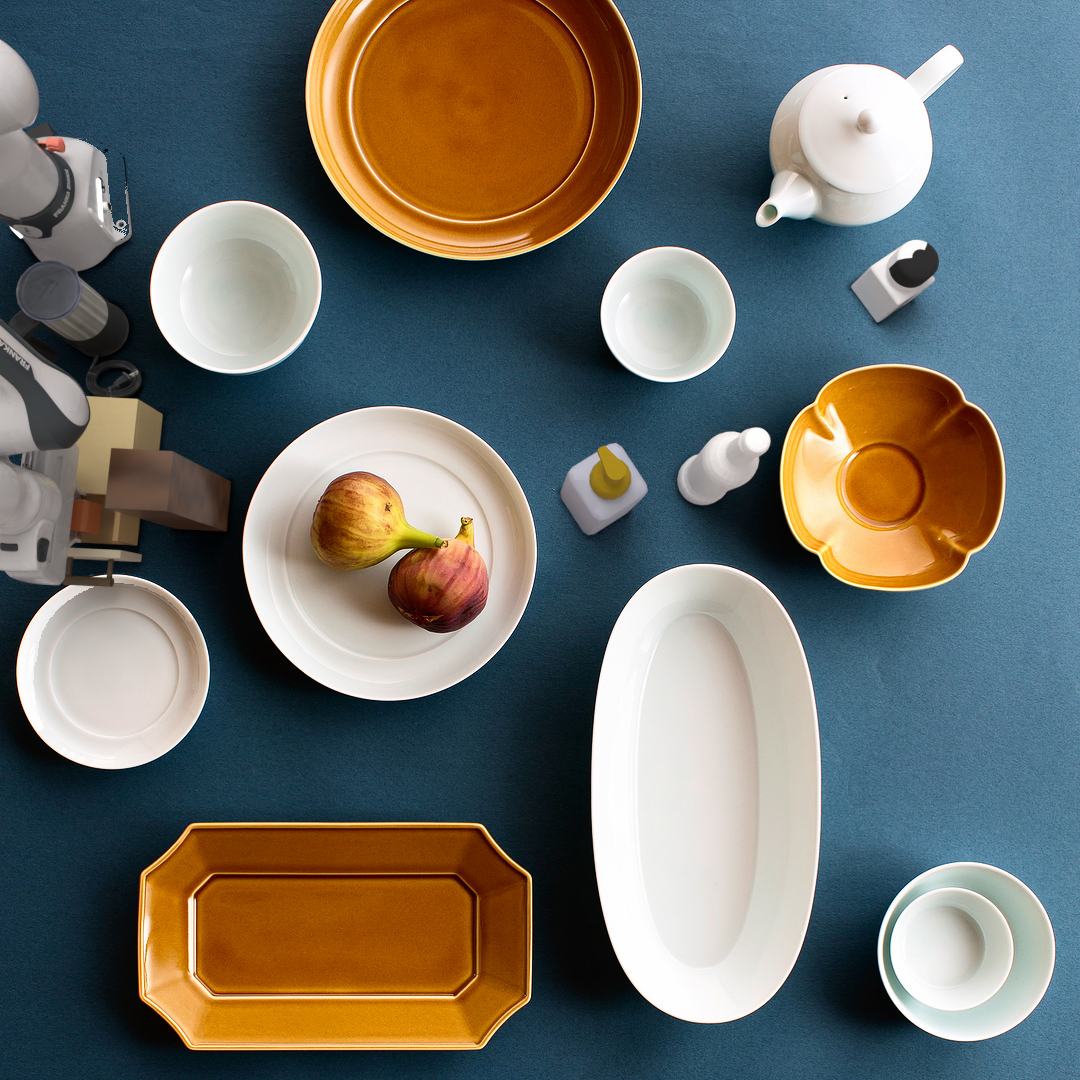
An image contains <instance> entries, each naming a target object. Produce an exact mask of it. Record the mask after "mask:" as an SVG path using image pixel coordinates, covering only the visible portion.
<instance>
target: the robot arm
mask: <svg viewBox="0 0 1080 1080" xmlns="http://www.w3.org/2000/svg"><path fill="white" fill-rule="evenodd" d="M39 109H40V94H39V88H38V84H37V81H36V79H35V77H34V74H33V72H32V70H31V69H30V67H29V66H28V65H27V63H26V61H25V60H24V59H23V57H22V56H21V55H20V54H19V53H18V52H17V51H16V50H15V49H13V47H11V46H10V45H9V44H8V43H6V42H5V41H3V39H0V220H1V221H2V222H3V223H4V224H5V225H7V226H8V227H9V228H10V229H11V231H12V232H13V233H14V234H15V235H16V236H17V237H18V238H19V239H22V240H23V241H24V242H25V243H26V244H27V246H28V247H29V249H30V250H31V251H32V253H33V255H34V256H35V257H36V258H37V259H38V260H39V262H42V261H48V260H54V261H60V262H63V263H65V264H67V265H69V266H70V267H72V268H74V269H75V270H76V271H77V272H82V271H85V270H88V269H91V268H93V267H95V266H96V265H99V263H101V262H103V260H105V259H106V258H107V257H108V256H109V254H110V253H111V252H112V251H113V250H114V249H115V248H116V247H119V246H120V245H123V244H124V243H126V242H127V241H129V240H130V239H131V237H132V235H133V229H132V219H131V208H130V199H129V189H128V185H127V186H126V187H127V189H126V190H125V194H126V204H127V214H128V224H129V233H128V235H127V236H126V234H125V233H126V232H125V233H123V232H124V231H123V230H125V228H124V227H125V226H126V225H127V224H126V222H125V221H124V220H122V219H121V220H118V221H117V222H116V225H115V224H114V222H113V218H112V214H111V213H112V212H111V210H112V206H111V203H110V194H109V185H108V173H107V162H106V160H107V159H106V157H105V155H104V154H103V153H102V152H101V151H100V150H98V149H97V148H96V147H94V146H93V145H91V144H89V143H87V142H85V141H82V140H79V139H80V138H74V137H70V136H60V135H59V134H58V132H57V131H56V130H55V129H54V128H53V127H52V126H51V125H50V124H49V122H47V121H46V122H44V123H42V124H39V125H37V126H35V127H32V128H30V129H28V130H26V131H24V130H23V129H26V128H28V127H30V126H32V125H33V124H34V123H35V121H36V118H37V117H38V113H39ZM125 183H126V182H125ZM126 187H125V188H126ZM127 190H128V191H127ZM122 225H123V226H122ZM113 226H115V227H117V228H118V229H122V230H121V231H123V232H122V233H121V231H120V232H119V230H118V231H117V229H116V230H115V228H114V227H113ZM123 228H124V229H123ZM125 231H127V229H126V230H125ZM124 234H125V235H124ZM125 236H126V237H125ZM124 237H125V238H124ZM121 239H122V240H121ZM86 396H87V395H86V392H85V391H84V389H83V388H82V386H81V384H80V383H79V382H78V381H77V380H76V379H75V377H73V376H72V375H71V374H70V373H68V372H67V371H66V370H64V369H63V368H61V367H60V366H58V365H57V364H55V363H52V362H50V361H49V360H47V359H46V358H44V357H43V356H42V355H41V354H39V353H38V352H37V351H36V350H35V349H34V348H33V347H31V346H30V345H29V344H28V343H27V342H26V341H25V340H24V339H23V338H22V337H20V336H19V335H18V334H17V333H16V332H15V331H14V330H13V329H12V328H11V327H10V326H8V324H7V322H5V321H4V320H3V319H2V318H1V317H0V571H1V572H5V574H6V575H8V576H9V578H12V579H14V580H16V581H19V582H22V583H23V582H24V583H28V584H34V585H42V586H44V585H45V586H60V585H61V584H63V583H62V582H63V581H64V579H65V576H66V567H67V554H68V548H72V546H73V545H74V544H76V543H77V544H78V543H79V544H82V543H81V535H82V533H79V532H70V528H71V519H72V510H73V502H74V499H84V500H85V499H86V492H83V491H81V489H80V487H79V485H78V483H77V481H76V475H77V467H78V458H79V447H78V445H77V443H76V442H77V441H78V440H79V438H80V437H81V436H82V434H83V433H84V431H85V430H86V428H87V426H88V424H89V421H90V416H91V412H90V406H89V402H88V399H87V397H86ZM14 455H21V461H20V462H21V463H20V465H18V464H15V463H13V462H12V461H11V460H10V457H9V456H14Z"/></svg>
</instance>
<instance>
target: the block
mask: <svg viewBox="0 0 1080 1080" xmlns="http://www.w3.org/2000/svg"><path fill="white" fill-rule="evenodd" d="M101 507H102V505H101V504H97V503H94V502H91V501H87V500H84V499H74V502H73V510H72V519H71V528H70V532H79V533H82V534H88V535H98V534H99V525H100V516H101Z"/></svg>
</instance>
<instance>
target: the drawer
mask: <svg viewBox="0 0 1080 1080" xmlns="http://www.w3.org/2000/svg"><path fill="white" fill-rule="evenodd" d="M85 500H87V501H91V502H94V503H97V504H101V505H102V507H101V516H100V525H99V534H98V535H88V534H82V535H81V543H80V544H98V545H119V546H120V545H121V546H138V541H139V532H140V523H141V519H140V518H136V517H133V516H130V515H126V514H123V513H119V512H116V511H113V510H109V509H106V508H105V500H106V495H94V494H86V499H85ZM142 557H143V555H142V553H138V552H137V553H136V552H132V551H128V550H121V549H108V548H107V549H105V548H104V549H103V548H85V547H70V548H68V554H67V563H66V572H65V579H64V581H63V582H62V583H61V584H62V585H64V586H76V587H77V586H78V587H79V586H80V587H102V588H113V587H114V586H115V579H114V577H113V574H114V566H115V565H114V564H115V562H130V563H131V562H132V563H133V562H134V563H141V562H142ZM74 560H92V561H107V569H106V577H105V576H85V575H83V576H82V575H73V567H74Z"/></svg>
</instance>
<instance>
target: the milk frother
mask: <svg viewBox="0 0 1080 1080" xmlns="http://www.w3.org/2000/svg"><path fill="white" fill-rule="evenodd" d="M16 284H17V285H16V289H15V296H16V301H17V304H18V306H19V308H20V310H19V311H18V312H17V313H15V314H14V316H12V318H11V319H10V320H9V321H8V324H7V325H8V326H10V327H11V328H12V329H13V330H14V331H15V332H16V333H17V334H18V335H19V336H20V337H22V338H23V339H24V340H25V341H26V342H27V343H28V344H29V345H30V346H31V347H33V348H34V349H35V350H36V351H37V352H38V353H39V354H41V355H42V356H43V357H44V358H46V359H47V360H49V361H50V362H52V363H53V364H55V363H56V362H59V360H60V355H59V352H58V351H57V350H56V349H55V348H54V347H53V346H52V345H50V344H48V343H47V342H45V341H43V340H42V339H39V338H38V337H36V336H34V334H35V333H36V332H37V331H38V330H39V329H41V328H42V327H43V328H44V329H46V330H48V331H49V332H51V333H53V334H54V335H55V336H57V337H58V338H59V339H61V340H63V341H64V342H66V343H67V344H69V345H70V346H71V347H73V348H75V349H77V350H79V351H80V352H81V353H83V354H84V355H87V356H89V357H93V361H92V363H91V365H90V367H89V369H88V371H87V373H86V376H85V385H86V388H87V389H88V391H89V392H90V393H91V394H92V395H94V396H95V397H111V398H129V397H130V396H132V395H134V394H135V393H136V392H137V391H139V390H140V388H141V386H142V383H143V377H142V374H141V372H140V371H139V369H138V368H137V367H136V366H135V365H134V364H132V363H131V362H129V361H127V360H120V359H112V360H106V361H103V362H101V363H98V364H97V362H98V361H99V359H100V358H102V357H103V358H104V357H107V356H110V355H112V354H114V353H116V352H118V351H119V350H120V349H121V348H122V347H123V346H124V344H125V343H126V341H127V340H128V337H129V332H130V324H129V321H128V318H127V315H126V314H125V312H124V311H123V310H122V308H120V307H118V306H117V305H115V304H113V303H111V302H110V301H108V300H107V299H106V298H105V297H103V296H102V295H101V294H100V293H99V292H97V291H96V290H95V289H94V288H93V287H91V286H90V285H89V284H88V283H87V282H86V281H84V280H83V278H81V277H80V276H79V274H78V271H76V270H75V269H74V268H72V267H70V266H69V265H67V264H65V263H63V262H60V261H54V260H48V261H42V262H41V261H38V262H36V263H34V264H32V265H31V266H30V267H28V268H27V269H25V271H24V272H23V273H22V274H21V275H20V277H19V279H18V282H17V283H16ZM109 369H123V370H126V371H128V372H130V373H127V372H125V371H122V375H120V376H119V377H118V378H117V379H116V380H115V381H113V383H112V384H111V385H110V386H107V388H103V387H102V386H99V385H98V383H97V380H98V377H99V375H100V374H102V372H104V371H106V370H109Z"/></svg>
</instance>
